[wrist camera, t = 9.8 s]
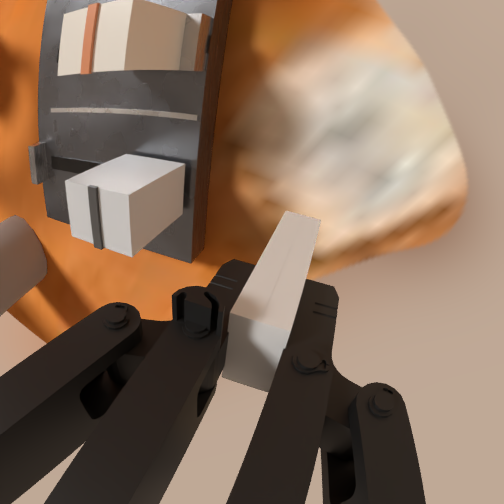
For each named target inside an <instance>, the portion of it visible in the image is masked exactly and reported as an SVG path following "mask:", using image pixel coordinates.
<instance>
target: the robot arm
mask: <svg viewBox="0 0 504 504" xmlns="http://www.w3.org/2000/svg"><path fill="white" fill-rule="evenodd" d="M320 223H321V220H319V219H316V218H312V217H308V216H305V215H301V214H297V213H293V212H290V211H285V213H284V215H283V217H282V219H281V220H280V222H279V224H278V226H277V228H276V230H275V231H274V233H273V235H272V237H271V239H270V241H269V242H268V244H267V246H266V248H265V250H264V252H263V253H262V255H261V257H260V259H259V261H258V262H257V264H256V265H252V264H249V263H246V262H242V261H239V260H235V259H233V260H231V261H229V262H227V263H225V264H224V265H222V266H221V268H220V269H219V271H218V272H217V273H216V276H214V278H213V279H212V280H211V283H209V285H208V286H207V287H201V286H189V287H185V288H182V289H179V290H178V291H176V292H175V293H174V294H173V295H172V314H173V320H171V321H155V320H146V319H141V317H140V313H139V311H138V310H137V309H136V308H135V307H134V306H132V305H129V304H127V303H120V302H116V303H109V304H107V305H105V306H103V307H101V308H99V309H98V310H96V311H95V312H93V313H92V314H90V315H89V316H87V317H86V318H84V319H83V320H81V321H80V322H78V323H77V324H75V325H74V326H72V327H71V328H69V329H68V330H66V331H65V332H63V333H62V334H60V335H59V336H58V337H56V338H55V339H53V340H52V341H50V342H49V343H47V344H46V345H45V346H43V347H42V348H40V349H39V350H38V351H36V352H34V353H33V354H32V355H30V356H29V357H27V358H26V359H25V360H23V361H22V362H20V363H19V364H17V365H16V366H15V367H13V368H12V369H10V370H9V371H8V372H6V373H5V374H4V375H2V376H1V377H0V504H11V503H12V502H14V501H15V500H16V499H17V498H19V497H20V496H21V495H22V494H23V493H25V492H26V491H27V490H28V489H30V488H31V487H32V486H33V485H34V484H36V483H37V482H38V481H39V480H41V479H42V478H43V477H44V476H45V475H46V474H48V473H49V472H50V471H51V470H53V469H54V468H55V467H56V466H57V465H58V464H60V463H61V462H62V461H63V460H64V459H66V458H67V457H68V456H69V455H70V454H72V453H73V452H74V451H75V450H76V449H77V448H78V447H80V446H81V445H82V444H83V443H84V442H85V441H86V442H85V443H84V445H83V446H82V448H81V449H80V451H79V452H78V454H77V455H76V456H75V458H74V459H73V461H72V462H71V464H70V465H69V467H68V468H67V470H66V471H65V473H64V474H63V476H62V477H61V479H60V480H59V482H58V483H57V485H56V486H55V488H54V489H53V491H52V492H51V494H50V495H49V497H48V498H47V500H46V501H45V503H44V504H159V503H160V501H161V499H162V497H163V495H164V493H165V491H166V490H167V488H168V485H169V484H170V482H171V480H172V478H173V476H174V474H175V472H176V470H177V468H178V466H179V464H180V462H181V460H182V458H183V456H184V454H185V452H186V450H187V448H188V446H189V444H190V442H191V440H192V438H193V436H194V434H195V432H196V430H197V428H198V426H199V424H200V422H201V420H202V418H203V416H204V414H205V412H206V410H207V408H208V406H209V404H210V402H211V400H212V398H213V396H214V394H215V391H216V386H217V380H218V378H219V376H220V374H221V372H222V370H223V372H222V377H223V378H226V379H229V380H232V381H235V382H237V383H241V384H244V385H247V386H250V387H253V388H256V389H259V390H262V391H266V392H269V393H268V395H267V399H266V401H265V404H264V407H263V410H262V412H261V415H260V418H259V421H258V424H257V426H256V429H255V432H254V434H253V437H252V440H251V442H250V445H249V448H248V450H247V453H246V455H245V458H244V461H243V463H242V466H241V468H240V471H239V474H238V476H237V479H236V481H235V484H234V486H233V489H232V491H231V493H230V496H229V498H228V500H227V503H226V504H305V501H306V497H307V493H308V489H309V486H310V482H311V477H312V474H313V470H314V466H315V461H316V457H317V453H318V448H319V447H320V448H321V464H322V488H323V504H426V502H425V496H424V490H423V484H422V478H421V473H420V467H419V463H418V458H417V453H416V448H415V443H414V439H413V434H412V430H411V426H410V422H409V418H408V414H407V410H406V406H405V403H404V401H403V398H402V396H401V395H400V394H399V393H398V392H397V391H396V390H395V389H394V388H392V387H391V386H389V385H387V384H383V383H378V382H376V383H371V384H367V385H366V386H364V387H360V386H358V385H357V384H355V383H353V382H351V381H349V380H348V379H346V378H345V377H343V376H342V375H341V374H340V373H339V372H338V371H337V369H336V368H335V366H334V365H333V361H332V346H333V339H334V332H335V325H336V317H337V309H338V301H339V297H338V294H337V292H336V290H335V288H334V287H333V286H330V285H326V284H323V283H319V282H316V281H312V280H309V279H306V277H307V273H308V269H309V266H310V262H311V258H312V254H313V250H314V247H315V243H316V239H317V235H318V231H319V227H320Z"/></svg>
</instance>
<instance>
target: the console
mask: <svg viewBox="0 0 504 504" xmlns="http://www.w3.org/2000/svg"><path fill="white" fill-rule="evenodd" d="M111 1H116V0H47V6H46V12H45V18H44V25H43V33H42V41H41V51H40V64H39V84H38V127H39V142H38V143H35V144H33V145H30V146H28V148H29V160H30V170H31V179H32V183H33V184H40V183H42V182H43V189H44V196H45V203H46V210H47V216H48V217H50V218H53V219H55V220H58V221H61V222H64V223H67V224H70V219H69V212H68V204H67V195H66V186H65V181H66V180H68V179H70V178H72V177H74V176H76V175H78V174H80V173H83V172H85V171H87V170H89V169H92V168H94V167H96V166H98V165H101V164H103V163H105V162H108V161H110V160H112V159H115V158H117V157H120V156H122V155H125V154H130V155H137V156H143V157H149V158H155V159H161V160H167V161H173V162H179V163H184V164H185V175H184V194H183V214H182V215H181V216H180V217H178V218H177V219H176V220H175V221H174V222H173V223H171V224H170V225H169V226H168V227H167V228H165V229H164V230H163V231H162V232H161V233H160V234H158V235H157V236H156V237H155V238H154V239H153V240H151V241H150V242H149V243H148V244H147V245H146V246H145V247H143V249H146V250H149V251H153V252H156V253H159V254H162V255H165V256H168V257H172V258H175V259H178V260H181V261H185V262H188V263H192V262H193V261H194V260H195V258H196V257H197V256H198V255H199V254H200V253H201V251H202V250H203V249H204V239H205V225H206V213H207V200H208V189H209V178H210V167H211V157H212V147H213V138H214V129H215V120H216V111H217V103H218V95H219V87H220V79H221V72H222V65H223V57H224V50H225V44H226V37H227V31H228V24H229V18H230V12H231V6H232V0H146V1H149V2H153V3H156V4H159V5H162V6H166V7H169V8H172V9H175V10H178V11H180V12H183V13H186V14H187V16H186V22H185V28H184V35H183V43H182V50H181V58H180V66H179V70H125V71H105V72H92V73H91V74H71V75H62V76H58V61H59V50H60V40H61V32H62V24H63V17H64V14H66V13H69V12H73V11H76V10H80V9H83V8H87V7H88V5H91V4H94V3H100V4H103V3H107V2H111ZM182 70H183V71H182Z"/></svg>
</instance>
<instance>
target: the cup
mask: <svg viewBox="0 0 504 504" xmlns="http://www.w3.org/2000/svg"><path fill="white" fill-rule="evenodd" d="M46 274H47V260H46V257H45V254H44V251H43V248H42V245H41V243H40V241H39V240H38V238H37V236H36V234H35V232H34V230H33V229H32V228H31V227H30V226H29V225H28V223H27V222H26V221H25V220H24V219H22V218H20V217H18V216H17V215H14V216H11V217H9V218H7V219H6V220H4V221H3V222H1V223H0V316H1V315H2V314H3V313H4V312H5V311H7V310H8V309H9V308H10V307H11V306H12V305H13V304H14V303H16V302H17V301H18V300H19V299H20V298H21V297H22V296H24V295H25V294H26V293H27V292H28V291H29V290H31V289H32V288H33V287H34V286H35V285H37V284H38V283H39V282H40V281H41V280H43V279H44V277H45V275H46Z"/></svg>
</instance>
